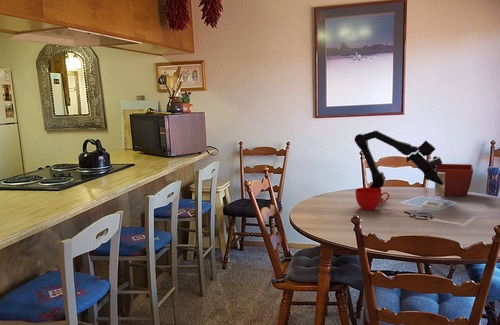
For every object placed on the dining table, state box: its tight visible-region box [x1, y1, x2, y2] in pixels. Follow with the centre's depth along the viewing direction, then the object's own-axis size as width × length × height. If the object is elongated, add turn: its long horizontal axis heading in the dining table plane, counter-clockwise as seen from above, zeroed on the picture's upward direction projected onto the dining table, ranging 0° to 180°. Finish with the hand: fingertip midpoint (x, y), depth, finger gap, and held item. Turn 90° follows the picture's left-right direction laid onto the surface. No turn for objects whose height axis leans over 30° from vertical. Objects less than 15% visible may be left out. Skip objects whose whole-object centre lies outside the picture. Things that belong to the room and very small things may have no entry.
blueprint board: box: [399, 195, 460, 212], centre depth 208 cm, size 22×22×1 cm
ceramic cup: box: [355, 187, 390, 211], centre depth 204 cm, size 13×17×10 cm
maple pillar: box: [434, 172, 445, 197], centre depth 207 cm, size 4×4×12 cm
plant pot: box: [435, 163, 474, 198], centre depth 224 cm, size 19×19×17 cm
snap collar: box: [422, 201, 444, 209], centre depth 201 cm, size 8×8×2 cm
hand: (442, 183), depth 206 cm, fingers closed on maple pillar, 4 cm apart
